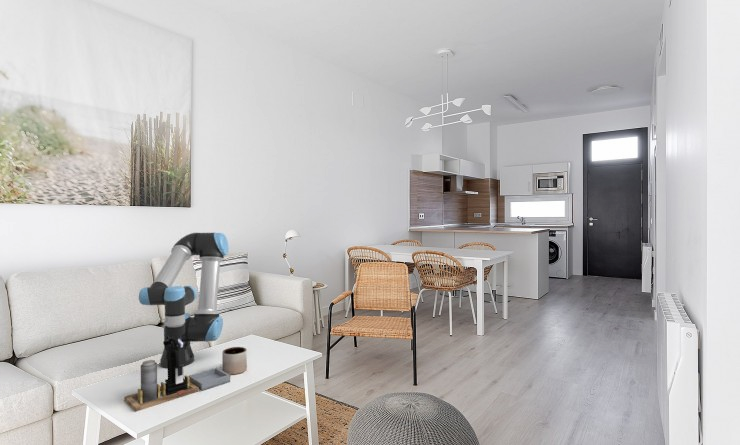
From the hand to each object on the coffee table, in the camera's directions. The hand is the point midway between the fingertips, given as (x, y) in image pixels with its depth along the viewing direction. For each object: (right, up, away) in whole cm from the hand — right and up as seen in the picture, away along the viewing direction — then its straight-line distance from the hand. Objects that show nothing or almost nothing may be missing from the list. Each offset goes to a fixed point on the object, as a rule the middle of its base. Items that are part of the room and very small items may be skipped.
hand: (175, 380), depth 166 cm
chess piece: (0, -4, 0) cm, 4 cm away
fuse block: (-3, -5, -4) cm, 7 cm away
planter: (+17, -5, +22) cm, 28 cm away
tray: (+10, -5, +9) cm, 15 cm away
